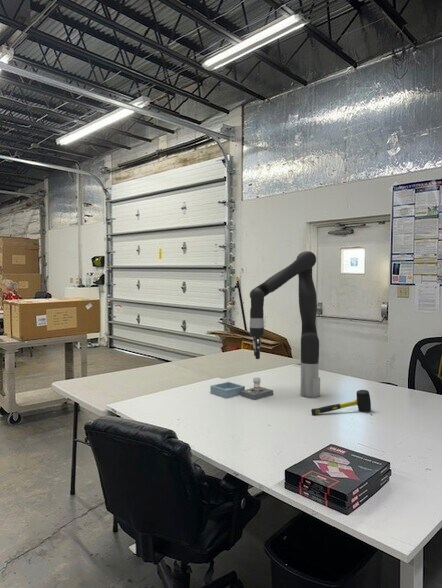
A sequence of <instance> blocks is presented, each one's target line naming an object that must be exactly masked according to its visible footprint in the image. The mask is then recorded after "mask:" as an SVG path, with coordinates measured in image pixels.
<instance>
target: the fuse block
mask: <svg viewBox="0 0 442 588" xmlns="http://www.w3.org/2000/svg"><path fill="white" fill-rule="evenodd" d="M253 391H254V387H251V388H249V389H245V390H243V391H241V395H240V396H241V397H242V398H243V397H244V398H246V399H250V400H253V401H257V400H259V399H263V397H264V398H266V397H271V396H273V395H274V390H273V389H270V388H268V387H267V388H266V387H263V386H260V392H258V393H257V392H253Z"/></svg>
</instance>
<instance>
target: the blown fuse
mask: <svg viewBox="0 0 442 588" xmlns="http://www.w3.org/2000/svg"><path fill="white" fill-rule="evenodd" d="M261 381H262V379H261V378H260V377H253V378H252V382H253V388H254V391H253V392H257V393H258V392H260V387H261Z"/></svg>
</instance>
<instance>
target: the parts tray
mask: <svg viewBox="0 0 442 588" xmlns="http://www.w3.org/2000/svg"><path fill="white" fill-rule="evenodd" d="M243 390H246V386H245V385H242V384H238V383H235V382H231V381H225V382H220V383H217V384H211V385H210V391H209V392H210V394H213V395H215V396H218V397H221V398H224V399H229V398H233V397H236V396H241V391H243Z"/></svg>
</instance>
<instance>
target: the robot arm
mask: <svg viewBox="0 0 442 588" xmlns="http://www.w3.org/2000/svg"><path fill="white" fill-rule="evenodd" d="M316 262H317V256H316V254H315V253H314V252H312V251H309V250H305V251H302V252H300V253H299V254H298V255H297V256H296V258H295V260H294V261H293V262H291V264H289V265H288V266H286V267H285V268H283V269H281V270H279V271H278V272H276V273H275V274H273V275H271V276H270V277H269V278H267V279H266V280H265V281H264V282H261V284H260V283H259V285H257V286H255V287H254V288H253V289H251V290H250V292H249V299H250V309H249V310H250V311H249V336H250V337H252V338H253V339H252V346H253V355H254V357H255V360H260V358H261V347H262V343H261V342H262V339H261V338H260V337H264V336H265V320H264V319H265V318H264V306H265V304H264V302H265V297H266V296H268V295H269V294H271V293H274V292H275V291H277V290H278V289H280V288H281V287H282V286H283V285H285V284H286V283H287V282H289V281H290V280H291V279H293V278H294V277H296V276H298V308H299V315H300V320H301V333H300V334H301V336H300V396H302V397H304V398H313V399H314V398H317V397H320V396H321V377H320V376H319V375H320V373H319V372H320V371H319V368H320V367H319V366H320V365H319V364H320V363H319V362H320V361H319V360H320V359H319V358H320V339H319V335H318V331H317V313H318V312H317V309H318V300H317V291H316V287H315V284H314V279H313V278H314V277H313V267H314V266H315V265H316Z"/></svg>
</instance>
